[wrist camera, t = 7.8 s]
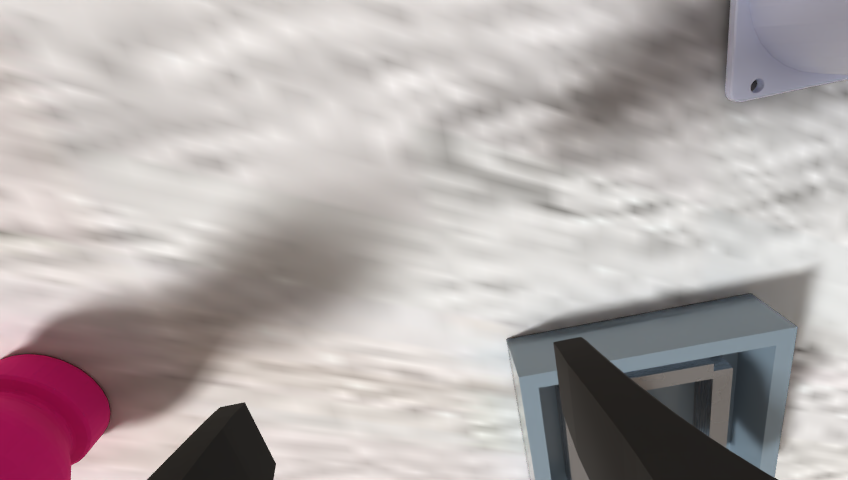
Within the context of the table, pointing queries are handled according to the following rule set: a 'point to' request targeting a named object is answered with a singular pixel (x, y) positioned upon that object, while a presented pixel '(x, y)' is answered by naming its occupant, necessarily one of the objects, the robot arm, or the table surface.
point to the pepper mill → (47, 417)
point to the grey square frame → (705, 372)
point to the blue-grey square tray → (662, 345)
